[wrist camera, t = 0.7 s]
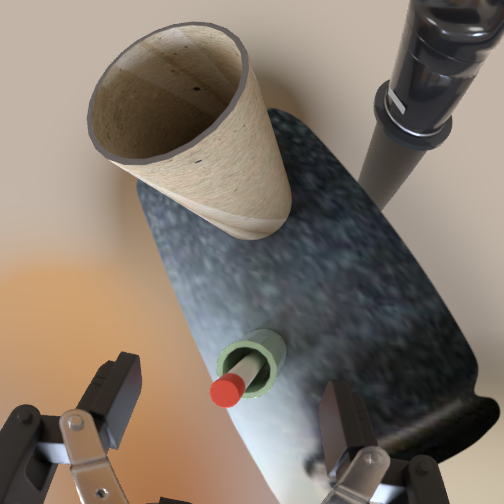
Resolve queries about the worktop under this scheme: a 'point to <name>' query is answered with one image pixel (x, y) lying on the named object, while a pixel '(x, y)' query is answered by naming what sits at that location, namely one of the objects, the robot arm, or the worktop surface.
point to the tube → (194, 127)
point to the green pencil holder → (268, 346)
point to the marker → (237, 380)
